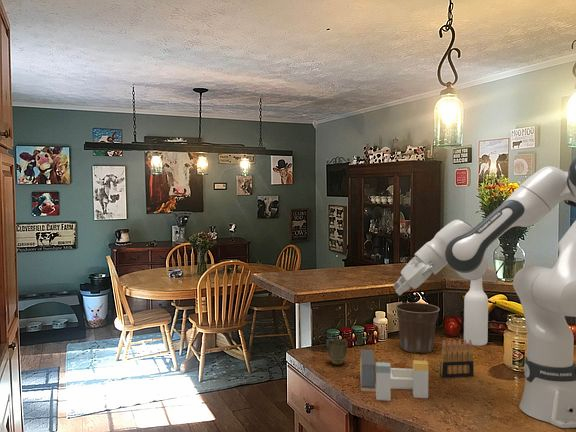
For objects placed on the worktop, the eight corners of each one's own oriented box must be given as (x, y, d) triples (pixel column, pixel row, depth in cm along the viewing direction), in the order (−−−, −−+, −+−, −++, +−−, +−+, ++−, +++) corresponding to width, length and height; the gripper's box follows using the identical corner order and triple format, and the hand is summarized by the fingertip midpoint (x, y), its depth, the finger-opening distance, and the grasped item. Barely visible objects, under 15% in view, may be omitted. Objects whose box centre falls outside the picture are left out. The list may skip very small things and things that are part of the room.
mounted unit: (373, 372, 162) (373, 349, 162) (376, 391, 147) (376, 365, 146) (359, 372, 163) (359, 348, 162) (360, 391, 147) (360, 365, 147)
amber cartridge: (426, 393, 145) (426, 360, 145) (428, 398, 142) (428, 364, 142) (412, 393, 146) (412, 360, 145) (414, 397, 143) (414, 363, 142)
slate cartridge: (389, 396, 143) (389, 362, 143) (390, 400, 140) (390, 366, 140) (375, 395, 144) (375, 362, 143) (376, 399, 141) (376, 365, 140)
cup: (346, 368, 166) (346, 345, 166) (325, 366, 168) (325, 343, 167) (348, 360, 174) (348, 338, 173) (327, 359, 175) (327, 337, 175)
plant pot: (446, 348, 187) (446, 306, 187) (427, 358, 175) (428, 314, 175) (407, 339, 198) (408, 300, 197) (387, 349, 186) (387, 307, 185)
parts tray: (416, 378, 157) (416, 368, 157) (420, 389, 148) (420, 380, 148) (386, 376, 158) (386, 367, 158) (389, 388, 149) (389, 378, 149)
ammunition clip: (442, 378, 157) (442, 341, 157) (439, 375, 159) (440, 339, 159) (473, 376, 159) (474, 340, 158) (471, 374, 160) (471, 338, 160)
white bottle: (464, 345, 191) (465, 269, 189) (463, 338, 199) (463, 265, 198) (488, 347, 188) (490, 269, 187) (486, 340, 197) (487, 266, 195)
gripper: (442, 272, 140) (406, 304, 142) (430, 264, 161) (399, 292, 162) (426, 256, 141) (391, 288, 142) (417, 250, 161) (386, 278, 163)
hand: (395, 290), depth 152 cm, fingers open, 8 cm apart
